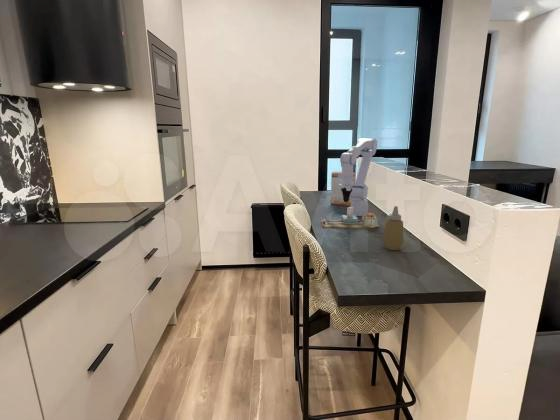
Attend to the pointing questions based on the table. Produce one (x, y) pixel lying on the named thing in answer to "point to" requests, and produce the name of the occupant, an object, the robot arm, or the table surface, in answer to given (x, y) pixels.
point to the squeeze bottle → (393, 231)
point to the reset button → (369, 214)
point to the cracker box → (338, 189)
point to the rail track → (341, 224)
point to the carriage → (350, 217)
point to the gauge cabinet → (369, 220)
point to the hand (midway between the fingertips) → (345, 201)
